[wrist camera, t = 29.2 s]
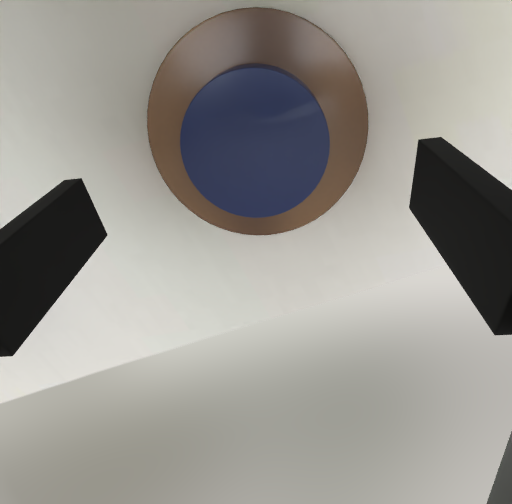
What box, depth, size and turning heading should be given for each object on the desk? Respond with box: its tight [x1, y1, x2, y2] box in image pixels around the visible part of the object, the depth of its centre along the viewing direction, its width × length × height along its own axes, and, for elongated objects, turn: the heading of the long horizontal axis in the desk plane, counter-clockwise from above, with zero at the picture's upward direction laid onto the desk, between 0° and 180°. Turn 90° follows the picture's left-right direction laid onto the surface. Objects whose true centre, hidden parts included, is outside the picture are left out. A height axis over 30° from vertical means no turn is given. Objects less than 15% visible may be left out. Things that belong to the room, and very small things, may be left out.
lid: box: [180, 63, 330, 218], centre depth 19 cm, size 8×8×2 cm
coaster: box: [147, 7, 368, 235], centre depth 20 cm, size 13×13×1 cm
